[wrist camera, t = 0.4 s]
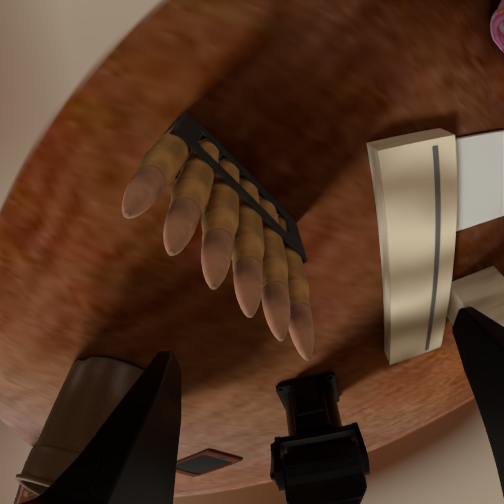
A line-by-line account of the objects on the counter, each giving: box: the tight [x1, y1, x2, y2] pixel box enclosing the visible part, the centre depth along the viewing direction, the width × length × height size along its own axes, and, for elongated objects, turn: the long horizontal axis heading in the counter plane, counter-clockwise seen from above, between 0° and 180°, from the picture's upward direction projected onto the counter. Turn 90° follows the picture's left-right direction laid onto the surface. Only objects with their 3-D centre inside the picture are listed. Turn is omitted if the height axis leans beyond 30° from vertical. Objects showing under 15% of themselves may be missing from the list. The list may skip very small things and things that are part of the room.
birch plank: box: [366, 128, 457, 365], centre depth 24 cm, size 22×6×2 cm, turn 17°
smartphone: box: [176, 449, 243, 477], centre depth 47 cm, size 7×1×15 cm
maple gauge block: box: [447, 266, 504, 327], centre depth 24 cm, size 4×6×7 cm, turn 107°
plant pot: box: [15, 357, 144, 495], centre depth 27 cm, size 16×16×16 cm
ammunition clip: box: [122, 111, 314, 361], centre depth 16 cm, size 11×2×12 cm, turn 42°
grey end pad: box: [455, 130, 504, 231], centre depth 21 cm, size 8×8×1 cm
